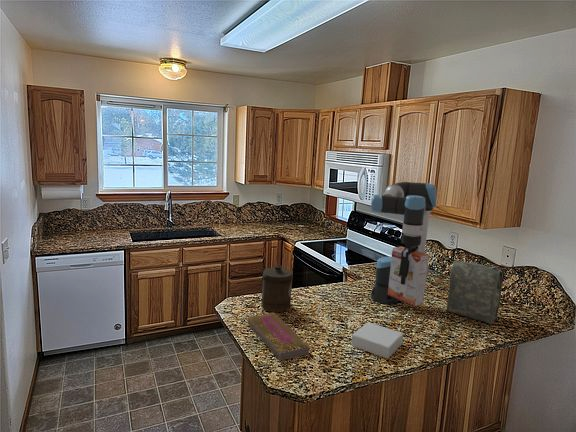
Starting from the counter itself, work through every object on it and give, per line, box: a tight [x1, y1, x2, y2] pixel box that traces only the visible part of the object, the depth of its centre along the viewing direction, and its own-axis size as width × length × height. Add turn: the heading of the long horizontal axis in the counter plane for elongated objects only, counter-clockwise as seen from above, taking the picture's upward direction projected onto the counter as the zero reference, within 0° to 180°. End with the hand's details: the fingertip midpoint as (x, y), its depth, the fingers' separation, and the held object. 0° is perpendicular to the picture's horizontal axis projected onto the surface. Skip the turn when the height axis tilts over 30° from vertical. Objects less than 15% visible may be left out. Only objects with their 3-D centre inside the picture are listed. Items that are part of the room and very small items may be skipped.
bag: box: [445, 259, 504, 325], centre depth 199 cm, size 22×16×27 cm
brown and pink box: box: [245, 312, 313, 361], centre depth 167 cm, size 35×14×6 cm, turn 27°
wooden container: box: [261, 264, 293, 313], centre depth 198 cm, size 15×15×22 cm
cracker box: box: [388, 246, 430, 307], centre depth 160 cm, size 14×6×21 cm, turn 35°
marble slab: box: [351, 321, 404, 359], centre depth 166 cm, size 16×16×5 cm
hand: (406, 288), depth 162 cm, fingers closed on cracker box, 7 cm apart
